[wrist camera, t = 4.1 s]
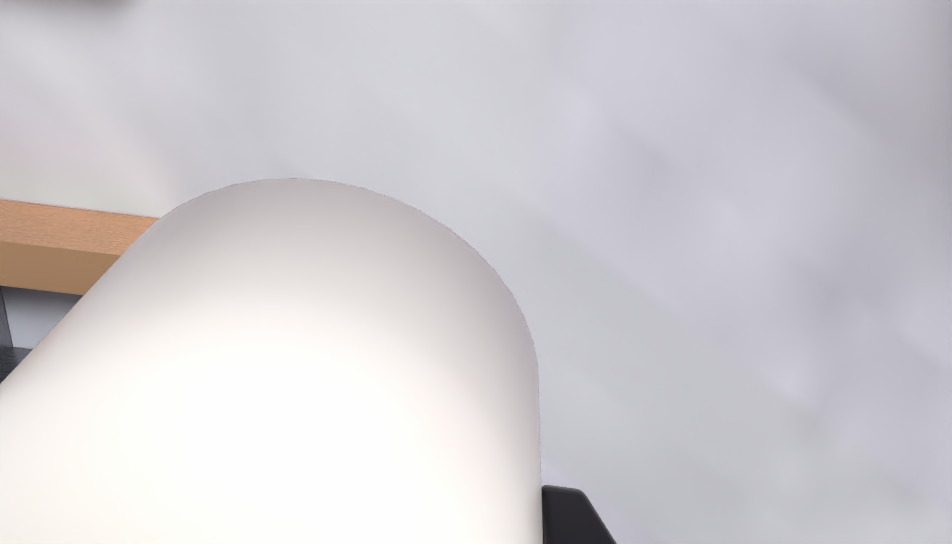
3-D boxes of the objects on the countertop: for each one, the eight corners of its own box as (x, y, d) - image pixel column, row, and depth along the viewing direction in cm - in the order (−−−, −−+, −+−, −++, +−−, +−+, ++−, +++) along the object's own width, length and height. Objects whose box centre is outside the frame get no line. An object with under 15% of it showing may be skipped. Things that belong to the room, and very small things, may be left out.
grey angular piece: (310, 537, 25) (254, 723, 20) (-84, 491, 25) (-244, 665, 20) (317, -127, 16) (219, -107, 11) (-296, -202, 16) (-693, -218, 11)
